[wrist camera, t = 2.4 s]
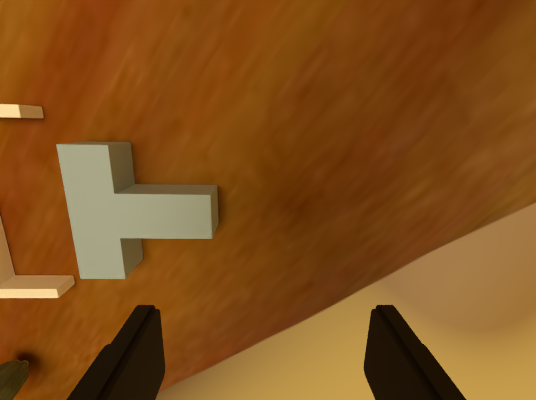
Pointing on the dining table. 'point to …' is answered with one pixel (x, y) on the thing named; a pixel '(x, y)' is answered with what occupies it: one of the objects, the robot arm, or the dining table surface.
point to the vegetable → (12, 378)
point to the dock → (3, 276)
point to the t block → (126, 208)
